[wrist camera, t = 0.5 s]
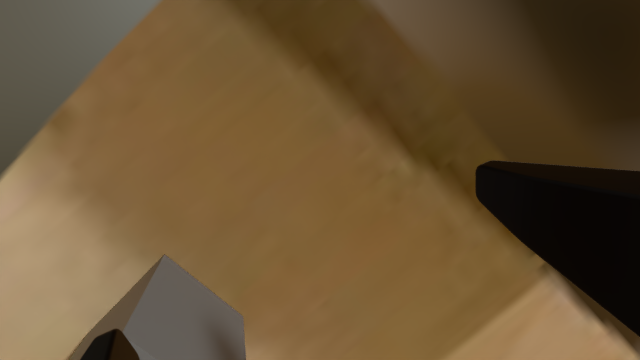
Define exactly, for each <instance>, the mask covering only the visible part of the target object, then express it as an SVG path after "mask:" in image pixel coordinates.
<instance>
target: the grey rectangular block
mask: <svg viewBox="0 0 640 360" xmlns="http://www.w3.org/2000/svg"><path fill="white" fill-rule="evenodd" d="M115 328H116V329H119V330H121V331H122V332H123V334H124V335H125V336H126V338H127V339H128V341H129V342H130V343H131V345H132V346H133V348H134V349H135V350H136V352H137V354H138V356H139V358H140V360H246V353H245V338H244V323H243V316H242V315H241V314H239V313H238V312H237V311H236V310H234V309H233V308H232V307H231V306H229V305H228V304H227V303H225V302H224V301H223V300H222V299H220V298H219V297H218V296H217V295H215V294H214V293H213V292H212V291H210V290H209V289H208V288H207V287H205V286H204V285H203V284H201V283H200V282H199V281H198V280H196V279H195V278H194V277H193V276H191V275H190V274H189V273H188V272H186V271H185V270H184V269H182V268H181V267H180V266H179V265H177V264H176V263H175V262H174V261H172V260H171V259H170V258H169V257H167V256H166V255H165V254H164V255H163V256H162V258H161V259H160V260H159V261H158V262H157V263H156V264H155V265H154V266H153V267H152V268H151V269H150V270H149V271H148V272H147V273H146V274H145V275H144V276H143V277H142V278H141V279H140V280H139V281H138V282H137V283H136V284H135V285H134V286H133V287H132V288H131V289H130V290H129V291H128V293H127V294H126V295H125V296H124V297H123V298H122V299H121V300H120V301H119V302H118V303H117V304H116V305H115V306H114V307H113V308H112V309H111V310H110V311H109V312H108V313H107V314H106V315H105V316H104V317H103V318H102V319H101V320H100V321H99V322H98V323H97V324H96V325H95V327H94V328H93V329H92V330H91V331H90V332H89V333H88V334H87V335H86V336H85V338H84V339H83V341H82V342H81V343H80V345H79V346H78V348H77V349H76V350H75V352H74V353H73V355H72V356H71V357H70V359H69V360H80V358H81V357H82V355H83V354H84V353H85V351H86V350H87V348H88V347H89V345H90V344H91V342H92V341H93V340H94V338H95V337H97V336H99V335H101V334H103V333H105V332H107V331H110V330H112V329H115Z"/></svg>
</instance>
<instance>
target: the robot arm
mask: <svg viewBox="0 0 640 360" xmlns="http://www.w3.org/2000/svg"><path fill="white" fill-rule="evenodd" d="M476 196H477V198H478V200H479V201H480V202H481V203H482V204H483V205H484V206H485V207H486V208H487V209H488V210H489V211H490V212H491V213H492V214H493V215H494V216H495V217H496V218H497V219H498V220H499V221H500V222H501V223H502V224H503V225H504V226H505V227H506V228H507V229H508V230H509V231H510V232H511V233H512V234H513V235H515V236H516V237H517V238H518V239H519V240H520V241H521V242H522V243H523V244H525V245H526V246H527V247H528V248H529V249H531V250H532V251H533V252H534V253H536V254H537V255H538V256H539V257H541V258H542V259H543V260H544V261H546V262H547V263H548V264H549V265H551V266H552V267H553V268H554V269H556V270H557V271H558V272H559V273H561V274H562V275H563V276H564V277H566V278H567V279H568V280H569V281H571V282H572V283H573V284H574V285H576V286H577V287H578V288H579V289H580V290H582V291H583V292H584V293H586V294H587V295H588V296H589V297H590V298H592V299H593V300H594V301H595V302H597V303H598V304H599V305H600V306H602V307H603V308H604V309H605V310H607V311H608V312H609V313H610V314H612V315H613V316H614V317H615V318H617V319H618V320H619V321H620V322H621V323H623V324H624V325H625V326H627V327H628V328H629V329H630V330H632V331H633V332H634V333H635V334H636V335H638V336H639V337H640V171H630V170H615V169H603V168H589V167H575V166H562V165H548V164H534V163H519V162H507V161H488V162H486V163H484V164H481V165H479V166H478V167H477V169H476ZM80 360H140V358H139V356H138V354H137V352H136V350H135V349H134V348H133V346H132V345H131V343H130V342H129V341H128V339H127V338H126V336H125V335H124V334H123V332H122V331H121V330H119V329H116V328H115V329H112V330H110V331H107V332H105V333H103V334H101V335H99V336H97V337H95V338H94V340H93V341H92V342H91V344H90V345H89V347H88V348H87V350H86V351H85V353H84V354H83V355H82V357H81V358H80Z"/></svg>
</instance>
